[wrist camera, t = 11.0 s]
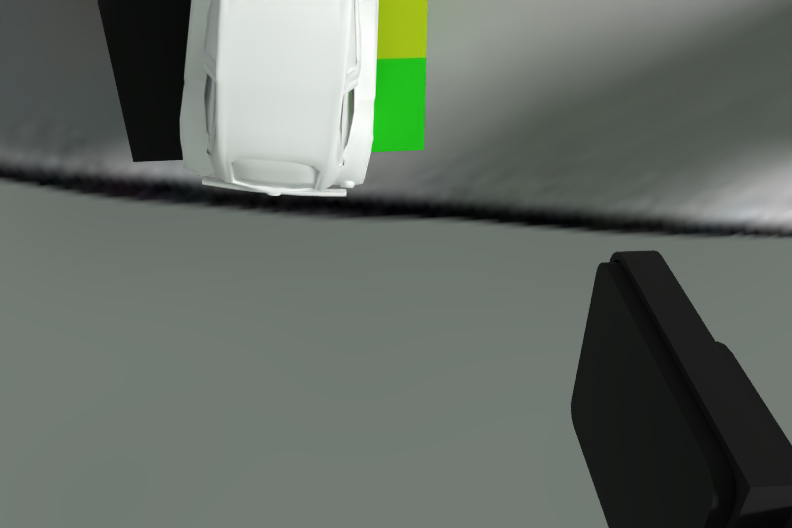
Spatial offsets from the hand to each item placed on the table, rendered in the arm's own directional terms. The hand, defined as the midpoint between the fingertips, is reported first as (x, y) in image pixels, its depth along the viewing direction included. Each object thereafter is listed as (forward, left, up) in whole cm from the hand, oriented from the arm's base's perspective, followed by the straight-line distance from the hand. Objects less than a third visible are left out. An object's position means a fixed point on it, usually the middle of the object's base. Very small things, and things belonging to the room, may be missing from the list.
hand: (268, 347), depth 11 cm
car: (0, 0, -16) cm, 16 cm away
